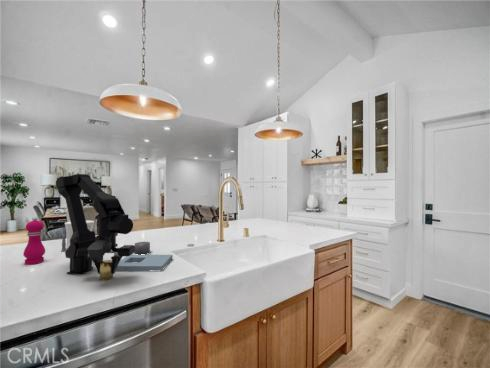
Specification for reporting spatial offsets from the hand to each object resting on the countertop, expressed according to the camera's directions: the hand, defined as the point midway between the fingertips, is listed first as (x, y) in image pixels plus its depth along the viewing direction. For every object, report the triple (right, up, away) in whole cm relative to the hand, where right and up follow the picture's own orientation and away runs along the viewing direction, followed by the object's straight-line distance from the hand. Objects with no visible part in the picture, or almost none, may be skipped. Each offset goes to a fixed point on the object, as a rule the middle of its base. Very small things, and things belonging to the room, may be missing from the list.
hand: (106, 273), depth 89 cm
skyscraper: (-40, -2, +39) cm, 56 cm away
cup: (-21, -2, +16) cm, 27 cm away
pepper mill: (-41, -2, +17) cm, 45 cm away
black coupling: (-1, -2, +33) cm, 33 cm away
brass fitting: (0, -2, 0) cm, 2 cm away
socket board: (+8, -2, +15) cm, 17 cm away
